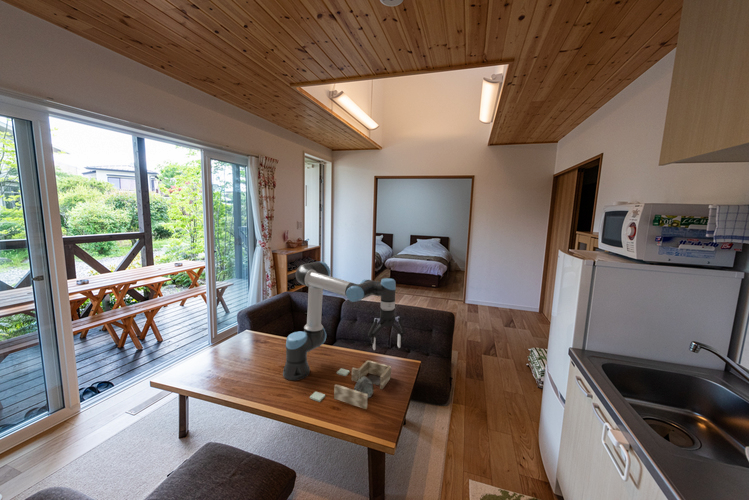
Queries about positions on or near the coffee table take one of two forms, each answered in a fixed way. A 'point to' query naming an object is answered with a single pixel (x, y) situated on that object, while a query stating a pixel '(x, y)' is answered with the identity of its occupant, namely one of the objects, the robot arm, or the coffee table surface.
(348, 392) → the wooden wall enclosure
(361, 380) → the stone
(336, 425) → the coffee table surface
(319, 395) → the pad
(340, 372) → the pad
